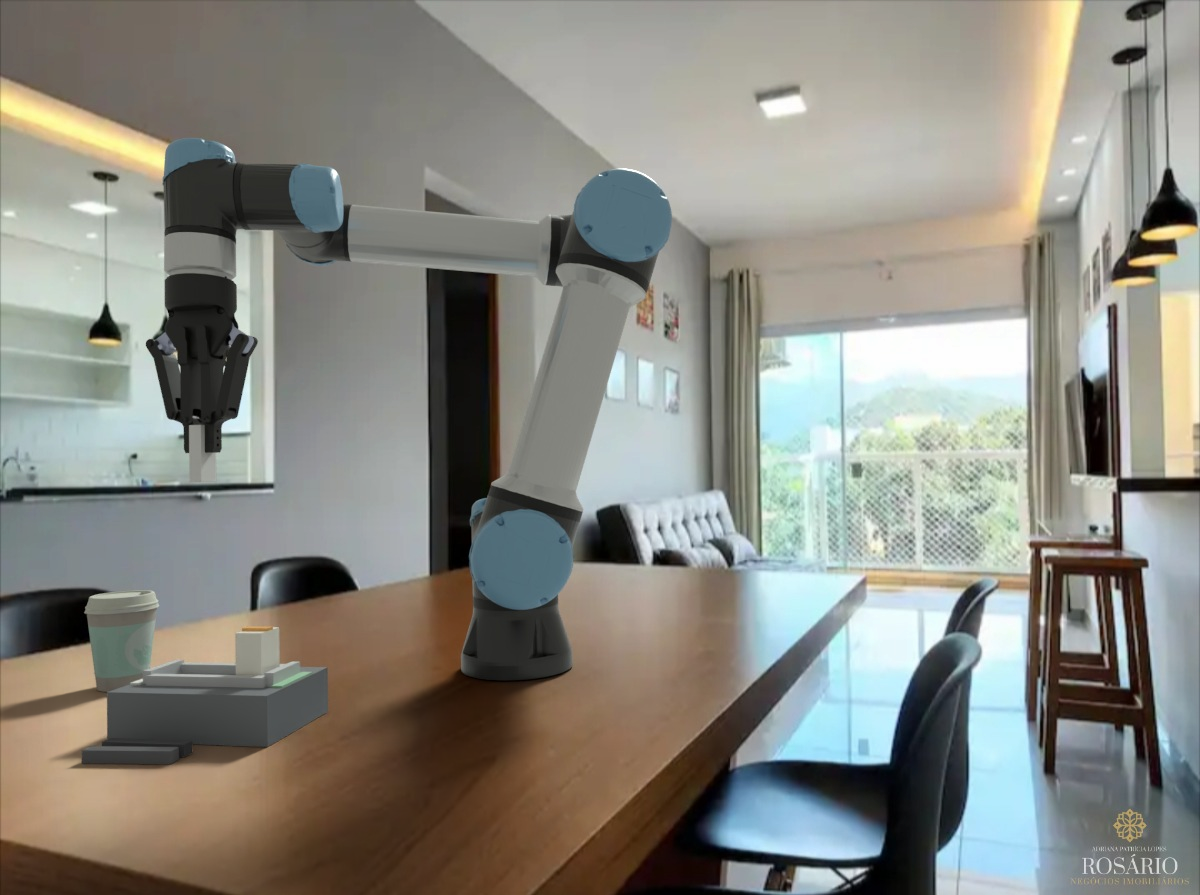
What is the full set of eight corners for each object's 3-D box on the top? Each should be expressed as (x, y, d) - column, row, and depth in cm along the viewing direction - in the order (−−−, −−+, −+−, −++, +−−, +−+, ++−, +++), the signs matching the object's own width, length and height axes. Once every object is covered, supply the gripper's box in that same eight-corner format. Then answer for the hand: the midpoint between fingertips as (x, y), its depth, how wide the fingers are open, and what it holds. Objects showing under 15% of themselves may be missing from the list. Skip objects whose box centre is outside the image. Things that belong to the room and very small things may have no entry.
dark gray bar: (178, 759, 78) (178, 746, 78) (171, 764, 77) (170, 751, 77) (90, 758, 79) (90, 746, 79) (81, 763, 78) (81, 750, 78)
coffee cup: (126, 696, 102) (125, 599, 102) (68, 694, 104) (67, 599, 104) (174, 678, 110) (174, 589, 111) (120, 677, 112) (119, 589, 113)
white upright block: (279, 673, 89) (279, 624, 89) (261, 681, 86) (261, 630, 86) (254, 672, 90) (254, 624, 90) (235, 680, 86) (235, 630, 87)
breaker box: (328, 711, 93) (327, 654, 93) (267, 746, 81) (266, 681, 81) (185, 708, 96) (185, 653, 96) (107, 741, 84) (106, 678, 84)
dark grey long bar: (192, 752, 80) (192, 740, 80) (184, 757, 78) (184, 744, 79) (110, 750, 81) (110, 737, 81) (101, 754, 80) (101, 741, 80)
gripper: (271, 282, 97) (273, 480, 97) (173, 289, 100) (174, 482, 99) (232, 266, 90) (234, 481, 89) (127, 274, 92) (128, 483, 91)
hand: (203, 481), depth 94 cm, fingers closed
